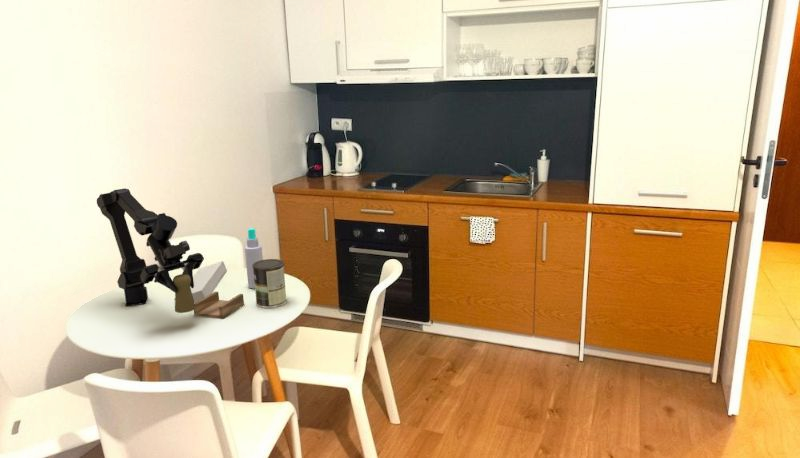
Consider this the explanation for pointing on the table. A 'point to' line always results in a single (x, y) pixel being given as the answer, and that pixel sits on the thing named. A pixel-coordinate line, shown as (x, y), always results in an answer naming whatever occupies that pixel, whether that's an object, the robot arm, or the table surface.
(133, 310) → the table surface
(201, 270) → the light grey block
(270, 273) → the coffee can
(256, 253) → the spray bottle
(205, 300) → the tray
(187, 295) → the cork
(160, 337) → the table surface
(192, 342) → the table surface
